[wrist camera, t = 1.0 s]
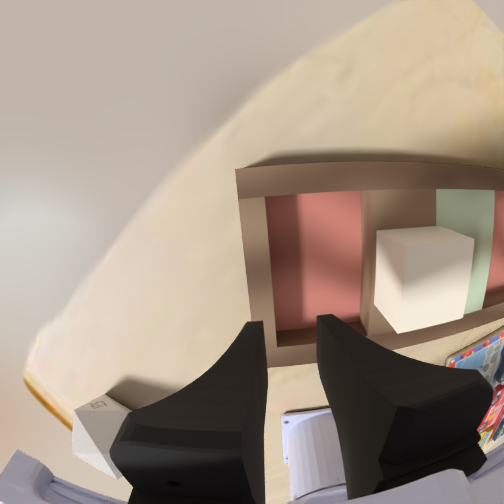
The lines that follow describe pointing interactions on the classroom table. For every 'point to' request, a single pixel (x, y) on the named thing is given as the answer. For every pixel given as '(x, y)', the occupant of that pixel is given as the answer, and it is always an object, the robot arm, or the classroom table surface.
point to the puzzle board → (493, 370)
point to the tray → (359, 244)
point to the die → (98, 432)
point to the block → (422, 276)
